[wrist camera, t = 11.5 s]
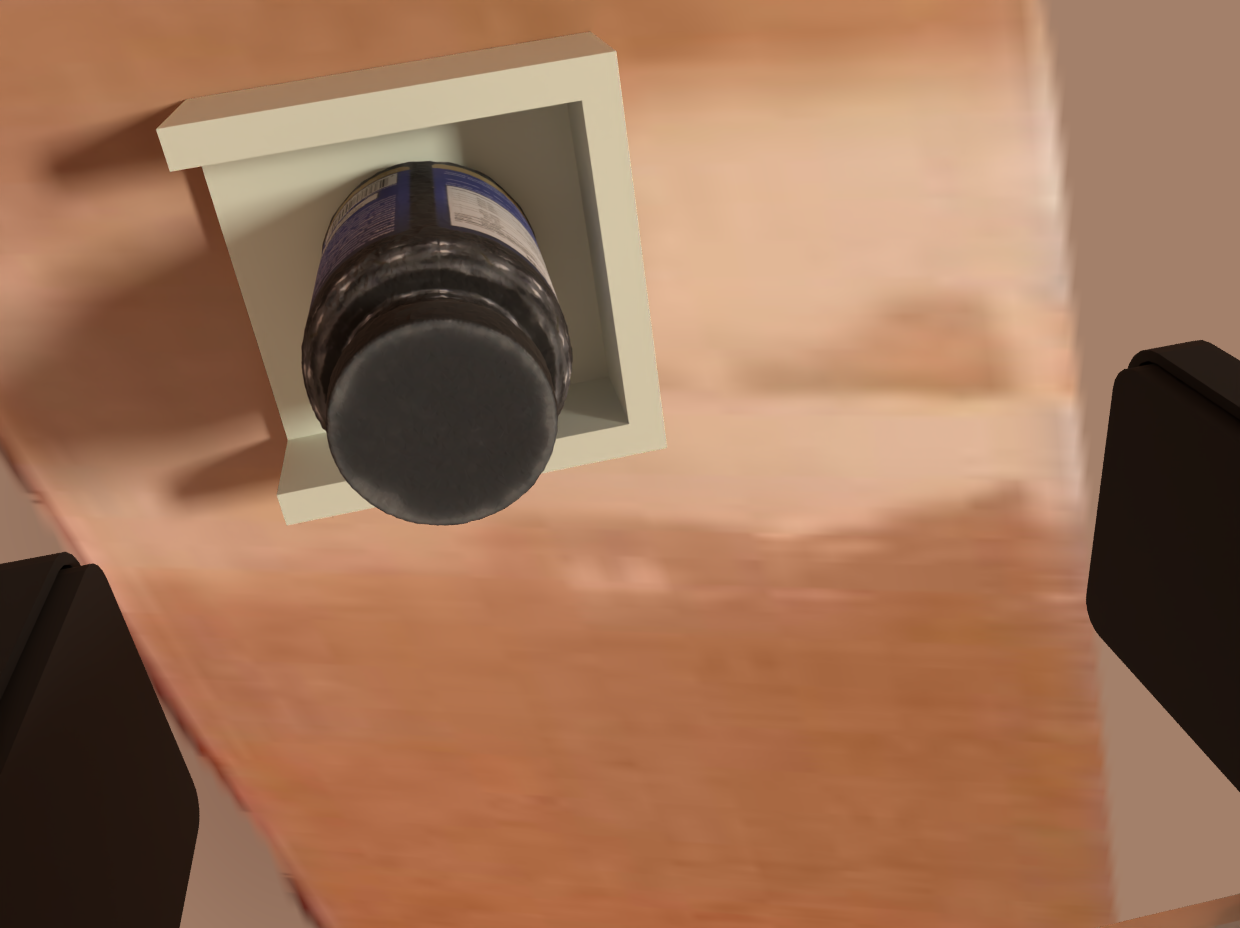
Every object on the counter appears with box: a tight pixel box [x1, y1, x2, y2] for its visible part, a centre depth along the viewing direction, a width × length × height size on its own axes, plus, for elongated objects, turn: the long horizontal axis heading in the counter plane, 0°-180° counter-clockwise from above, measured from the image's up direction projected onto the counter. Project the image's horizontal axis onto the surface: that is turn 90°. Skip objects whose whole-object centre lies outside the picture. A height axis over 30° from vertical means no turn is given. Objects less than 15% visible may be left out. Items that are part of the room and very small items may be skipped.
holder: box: [156, 32, 667, 525], centre depth 31 cm, size 11×11×4 cm
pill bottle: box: [301, 161, 573, 526], centre depth 27 cm, size 6×6×11 cm
